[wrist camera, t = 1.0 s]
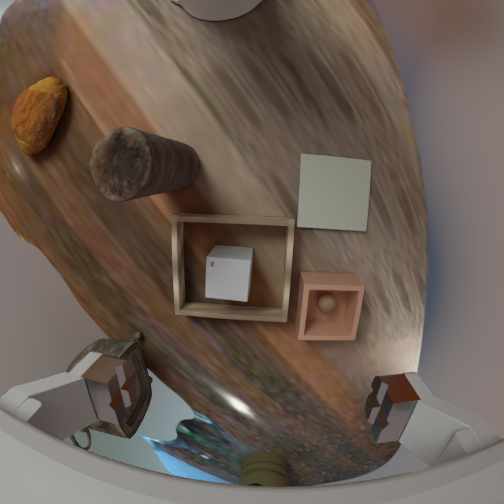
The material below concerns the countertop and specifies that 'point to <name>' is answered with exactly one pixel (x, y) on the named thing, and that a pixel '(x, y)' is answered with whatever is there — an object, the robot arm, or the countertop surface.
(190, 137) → the countertop surface
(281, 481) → the piston
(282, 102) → the countertop surface
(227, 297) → the product box
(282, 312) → the crate
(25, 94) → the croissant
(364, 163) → the plate
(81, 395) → the robot arm
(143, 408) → the tabletop clock
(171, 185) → the grey brown tall cylinder
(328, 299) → the cork ball
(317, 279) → the pot
